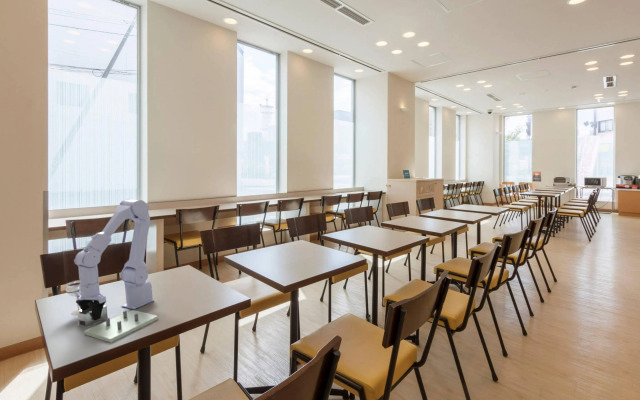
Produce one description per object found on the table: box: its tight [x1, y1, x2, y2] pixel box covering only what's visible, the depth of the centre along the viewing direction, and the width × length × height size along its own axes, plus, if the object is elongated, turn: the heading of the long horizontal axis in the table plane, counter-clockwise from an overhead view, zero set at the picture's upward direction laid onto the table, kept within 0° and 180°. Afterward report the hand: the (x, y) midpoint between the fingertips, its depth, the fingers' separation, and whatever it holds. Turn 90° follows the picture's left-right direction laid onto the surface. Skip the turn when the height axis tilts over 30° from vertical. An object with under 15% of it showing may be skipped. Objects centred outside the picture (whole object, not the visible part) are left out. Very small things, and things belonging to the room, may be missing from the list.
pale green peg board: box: [83, 309, 159, 343], centre depth 119 cm, size 18×14×4 cm
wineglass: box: [65, 279, 82, 316], centre depth 131 cm, size 7×7×12 cm
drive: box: [77, 304, 109, 328], centre depth 122 cm, size 8×4×5 cm, turn 159°
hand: (92, 318), depth 123 cm, fingers open, 5 cm apart
